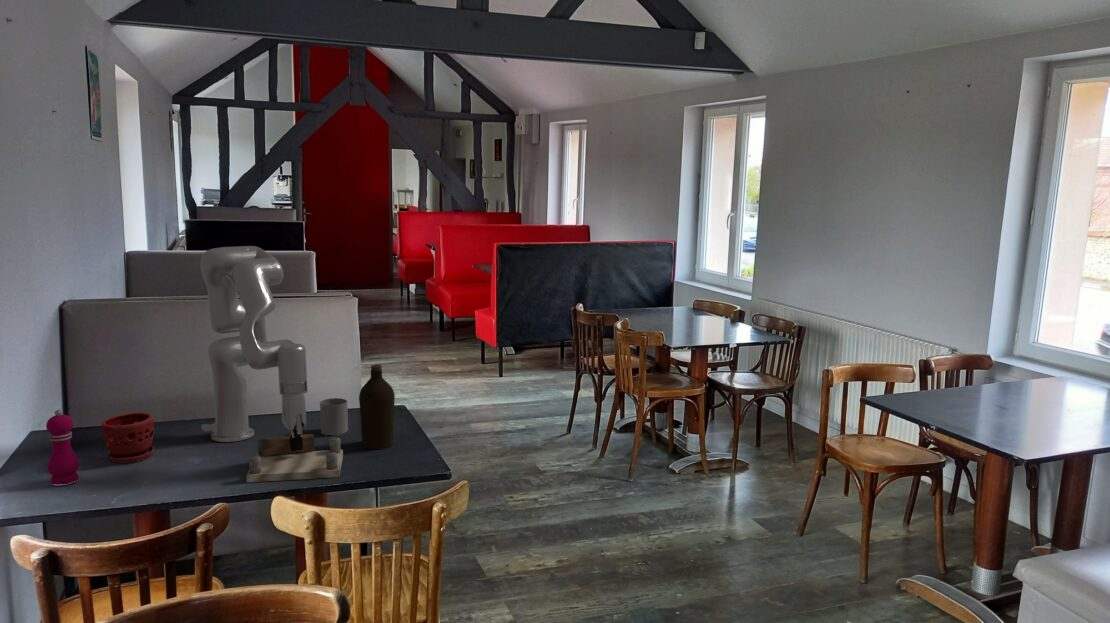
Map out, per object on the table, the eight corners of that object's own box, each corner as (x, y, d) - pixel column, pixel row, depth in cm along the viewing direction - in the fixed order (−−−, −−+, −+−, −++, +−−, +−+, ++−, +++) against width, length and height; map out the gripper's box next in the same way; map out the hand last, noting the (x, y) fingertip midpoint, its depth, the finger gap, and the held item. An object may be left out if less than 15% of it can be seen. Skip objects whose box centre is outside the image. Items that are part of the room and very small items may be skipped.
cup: (319, 429, 255) (318, 399, 254) (345, 426, 259) (344, 397, 257) (323, 437, 248) (322, 406, 246) (349, 433, 251) (349, 403, 250)
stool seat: (246, 482, 210) (245, 461, 209) (257, 460, 226) (256, 440, 225) (339, 477, 215) (338, 456, 214) (343, 455, 231) (342, 436, 230)
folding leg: (258, 456, 222) (257, 442, 222) (257, 452, 225) (257, 439, 224) (314, 449, 228) (313, 436, 228) (313, 446, 231) (312, 433, 230)
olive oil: (397, 448, 238) (396, 368, 234) (361, 451, 235) (359, 370, 231) (393, 437, 248) (391, 360, 244) (358, 440, 245) (356, 362, 241)
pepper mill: (46, 489, 203) (39, 414, 200) (51, 479, 210) (44, 407, 207) (78, 485, 206) (72, 411, 203) (82, 475, 213) (76, 404, 209)
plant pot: (141, 447, 236) (138, 409, 234) (164, 456, 228) (162, 417, 226) (95, 459, 225) (92, 419, 223) (118, 469, 218) (115, 428, 216)
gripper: (274, 383, 226) (277, 444, 228) (285, 395, 213) (288, 459, 216) (300, 380, 230) (303, 440, 232) (313, 391, 217) (316, 455, 220)
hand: (296, 449), depth 224 cm, fingers closed
